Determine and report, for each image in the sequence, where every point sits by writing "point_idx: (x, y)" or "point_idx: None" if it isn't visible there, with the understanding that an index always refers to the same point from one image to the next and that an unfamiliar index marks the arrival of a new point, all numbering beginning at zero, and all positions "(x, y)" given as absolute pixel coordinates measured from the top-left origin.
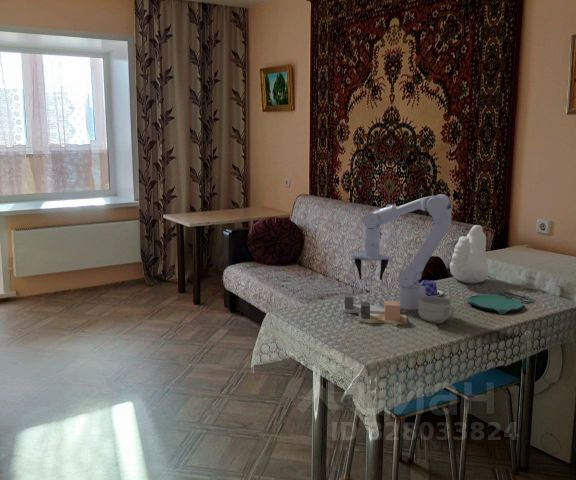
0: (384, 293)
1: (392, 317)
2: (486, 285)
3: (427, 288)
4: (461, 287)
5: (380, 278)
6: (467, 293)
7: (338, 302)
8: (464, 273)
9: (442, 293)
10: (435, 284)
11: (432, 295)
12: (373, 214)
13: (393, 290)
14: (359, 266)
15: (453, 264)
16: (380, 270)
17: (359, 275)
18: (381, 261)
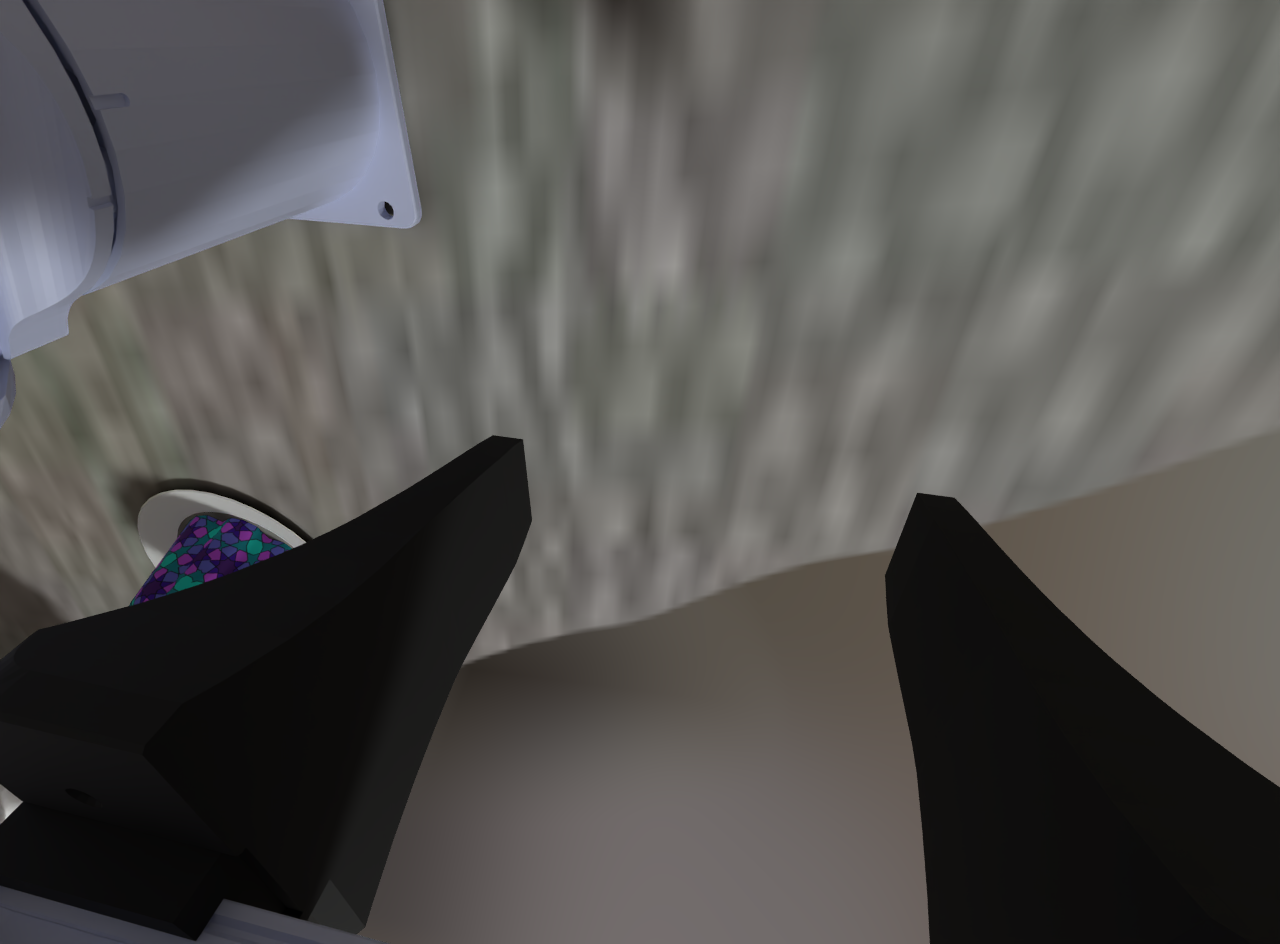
0: (562, 590)
1: None
2: None
3: (197, 569)
4: None
5: (500, 447)
6: (24, 549)
7: (1171, 331)
8: None
9: (146, 545)
10: (130, 603)
11: (199, 517)
12: None
13: (495, 642)
14: (1165, 772)
15: (2, 803)
16: (458, 650)
17: (997, 545)
18: (251, 865)
